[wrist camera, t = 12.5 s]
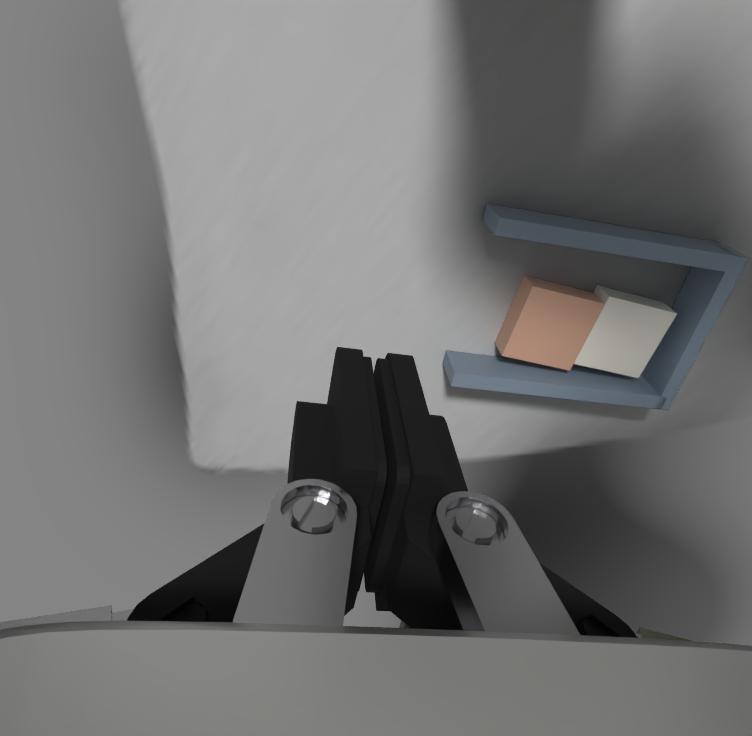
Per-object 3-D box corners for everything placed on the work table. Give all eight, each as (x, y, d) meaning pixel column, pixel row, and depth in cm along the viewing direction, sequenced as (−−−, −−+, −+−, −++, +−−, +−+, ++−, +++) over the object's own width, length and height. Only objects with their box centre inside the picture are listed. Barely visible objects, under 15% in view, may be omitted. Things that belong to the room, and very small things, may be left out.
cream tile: (595, 283, 44) (609, 296, 42) (660, 300, 46) (677, 313, 43) (562, 348, 47) (573, 363, 45) (624, 362, 48) (638, 378, 46)
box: (486, 203, 40) (500, 217, 37) (718, 242, 43) (748, 258, 40) (442, 363, 46) (450, 386, 43) (646, 387, 49) (667, 410, 46)
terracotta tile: (522, 273, 43) (533, 286, 41) (591, 290, 45) (604, 304, 42) (493, 340, 46) (501, 355, 44) (558, 355, 47) (569, 370, 45)
